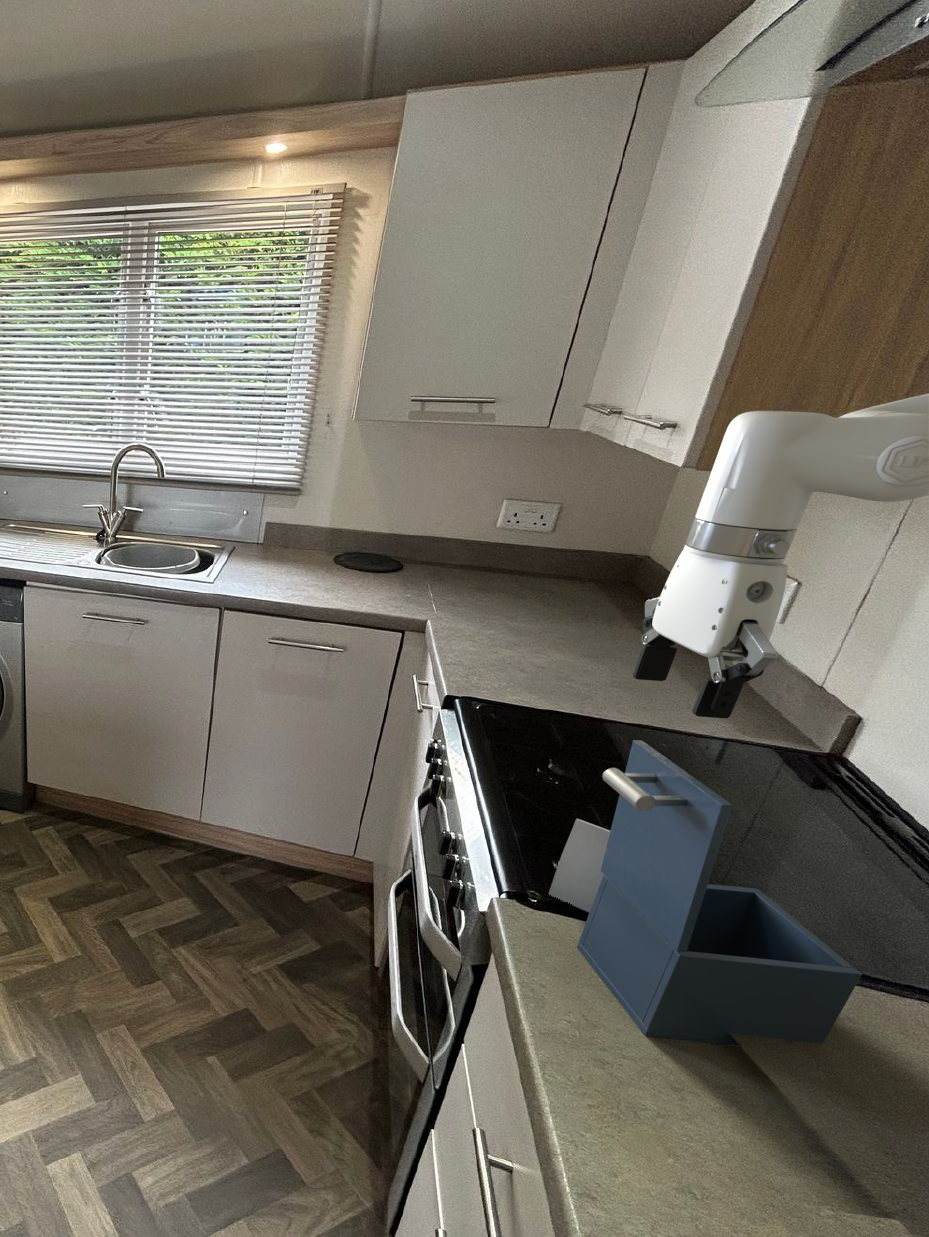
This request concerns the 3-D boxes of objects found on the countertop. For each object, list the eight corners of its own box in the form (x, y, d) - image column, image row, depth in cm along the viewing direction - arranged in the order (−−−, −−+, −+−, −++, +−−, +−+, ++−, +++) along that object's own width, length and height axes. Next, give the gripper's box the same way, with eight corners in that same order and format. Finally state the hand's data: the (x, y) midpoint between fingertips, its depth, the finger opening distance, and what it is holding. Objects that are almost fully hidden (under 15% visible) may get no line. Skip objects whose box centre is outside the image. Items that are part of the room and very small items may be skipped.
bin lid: (641, 740, 70) (586, 740, 71) (733, 805, 59) (666, 804, 60) (608, 870, 75) (557, 869, 76) (686, 952, 65) (626, 949, 66)
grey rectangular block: (616, 924, 83) (644, 852, 79) (548, 894, 87) (571, 824, 84) (624, 909, 85) (651, 839, 81) (557, 881, 90) (580, 813, 86)
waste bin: (722, 962, 77) (757, 888, 74) (816, 1055, 67) (862, 974, 63) (576, 947, 79) (603, 874, 76) (644, 1035, 69) (680, 955, 65)
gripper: (858, 564, 63) (780, 736, 70) (715, 526, 79) (662, 669, 86) (763, 559, 64) (695, 729, 71) (641, 523, 80) (594, 665, 87)
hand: (677, 696), depth 78 cm, fingers open, 9 cm apart
